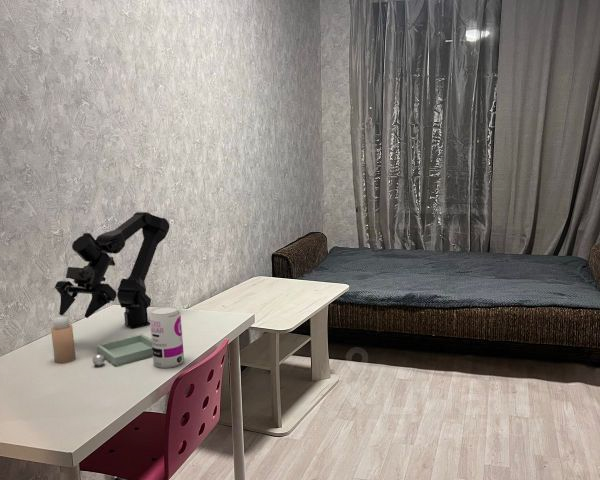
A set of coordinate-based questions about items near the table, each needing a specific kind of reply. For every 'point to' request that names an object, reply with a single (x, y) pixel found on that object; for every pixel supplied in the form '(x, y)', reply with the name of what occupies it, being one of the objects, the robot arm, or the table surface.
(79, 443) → the table surface
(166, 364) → the supplement can
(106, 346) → the tray
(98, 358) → the ball
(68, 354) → the shaker
